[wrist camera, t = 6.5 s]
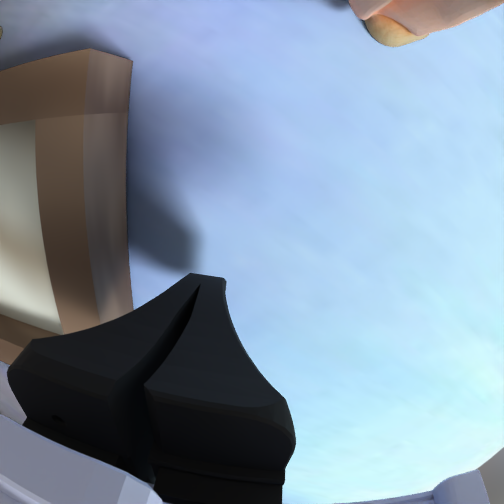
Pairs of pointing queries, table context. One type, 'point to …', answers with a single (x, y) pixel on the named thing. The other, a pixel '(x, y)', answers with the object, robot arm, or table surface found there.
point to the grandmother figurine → (415, 17)
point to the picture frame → (63, 196)
